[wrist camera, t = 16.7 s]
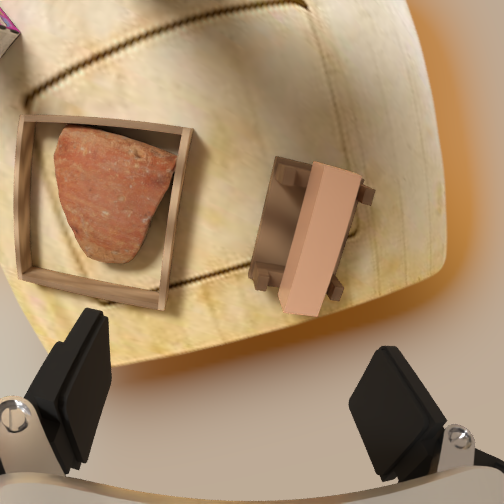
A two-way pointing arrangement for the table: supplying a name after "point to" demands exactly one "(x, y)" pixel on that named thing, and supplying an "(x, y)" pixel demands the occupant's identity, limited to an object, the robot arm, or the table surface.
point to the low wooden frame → (75, 282)
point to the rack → (289, 224)
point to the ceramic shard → (110, 189)
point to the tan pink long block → (318, 238)
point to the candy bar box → (6, 32)
